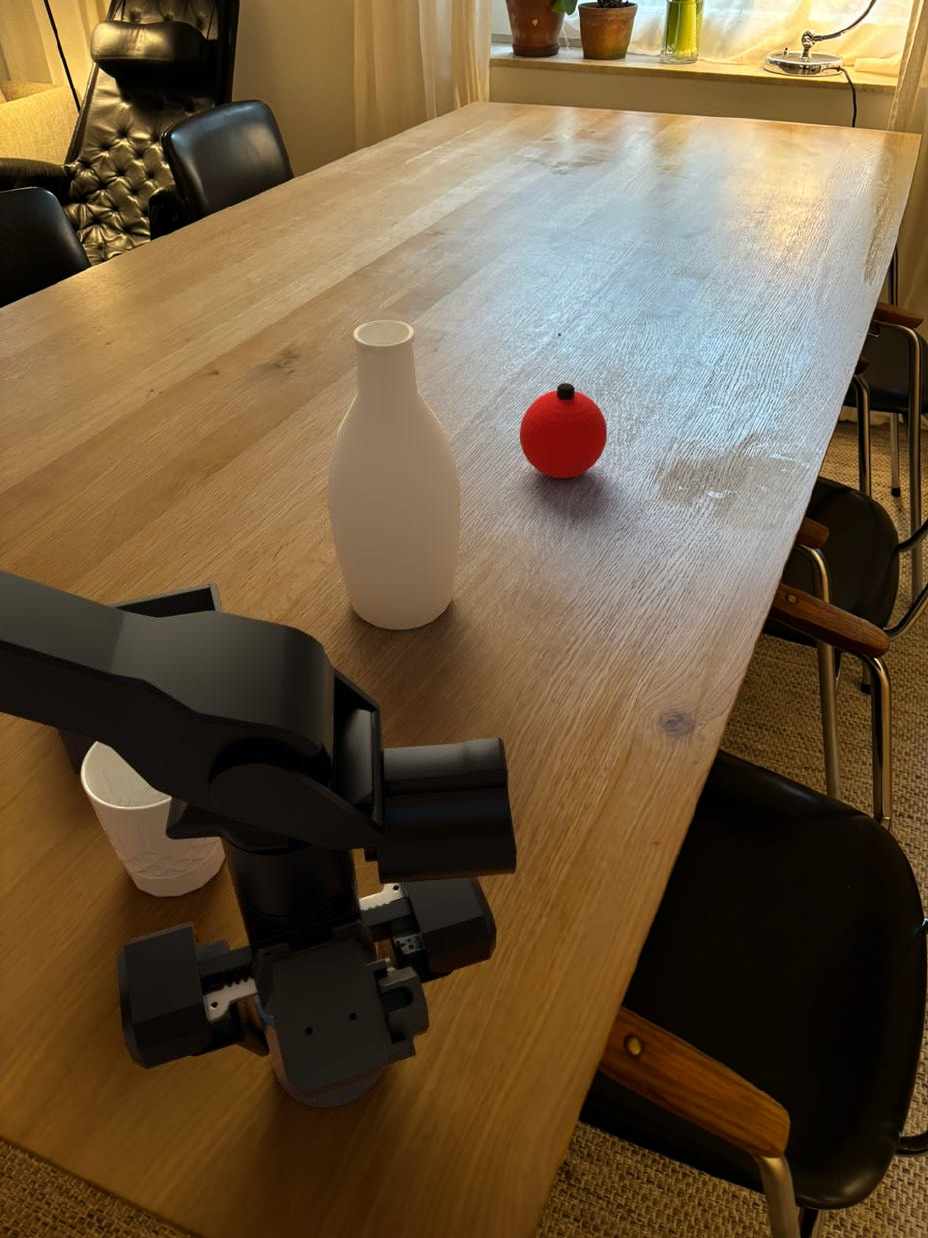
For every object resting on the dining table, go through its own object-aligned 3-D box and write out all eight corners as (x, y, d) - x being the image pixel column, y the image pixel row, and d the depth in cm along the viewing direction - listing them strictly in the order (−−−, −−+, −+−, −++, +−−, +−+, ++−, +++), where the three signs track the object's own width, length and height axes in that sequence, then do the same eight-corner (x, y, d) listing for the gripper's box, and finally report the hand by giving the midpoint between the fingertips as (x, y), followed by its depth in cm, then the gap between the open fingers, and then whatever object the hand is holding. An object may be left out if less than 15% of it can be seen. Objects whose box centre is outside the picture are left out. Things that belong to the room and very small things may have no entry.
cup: (252, 1087, 56) (228, 1016, 51) (302, 981, 61) (285, 906, 56) (364, 1123, 55) (351, 1055, 49) (406, 1011, 60) (398, 938, 54)
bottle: (488, 600, 89) (490, 332, 73) (394, 659, 83) (373, 382, 67) (407, 547, 95) (392, 289, 79) (314, 598, 90) (276, 331, 73)
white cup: (171, 927, 64) (135, 831, 58) (95, 866, 68) (54, 769, 61) (259, 846, 69) (236, 749, 62) (184, 793, 73) (154, 697, 66)
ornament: (618, 464, 106) (626, 378, 100) (578, 504, 101) (584, 416, 94) (544, 441, 110) (548, 357, 104) (502, 478, 104) (504, 392, 98)
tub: (75, 774, 74) (56, 728, 71) (69, 661, 84) (52, 616, 80) (251, 730, 77) (241, 684, 74) (225, 626, 87) (215, 581, 84)
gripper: (97, 1095, 38) (177, 1238, 49) (542, 951, 43) (531, 1109, 53) (83, 868, 47) (154, 1031, 57) (459, 766, 51) (463, 934, 61)
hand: (326, 1028), depth 57 cm, fingers closed on cup, 7 cm apart
